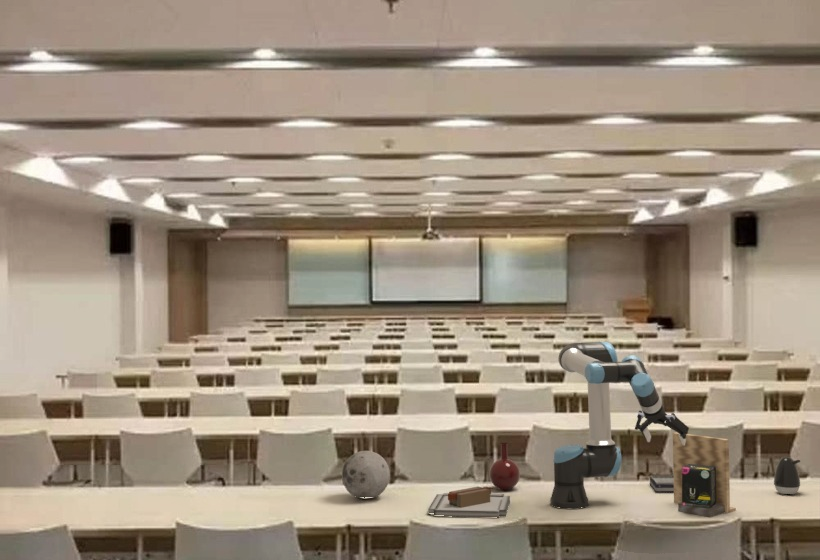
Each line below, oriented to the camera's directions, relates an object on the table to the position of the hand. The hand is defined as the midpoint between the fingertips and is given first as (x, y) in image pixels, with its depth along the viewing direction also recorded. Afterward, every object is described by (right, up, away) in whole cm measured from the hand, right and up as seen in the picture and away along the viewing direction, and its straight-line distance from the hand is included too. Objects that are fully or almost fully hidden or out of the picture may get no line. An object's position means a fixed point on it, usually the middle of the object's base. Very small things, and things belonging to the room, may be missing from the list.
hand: (666, 440), depth 379 cm
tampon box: (+14, -26, +7) cm, 30 cm away
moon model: (-115, -31, +42) cm, 126 cm away
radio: (+19, -29, +50) cm, 61 cm away
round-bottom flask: (-56, -30, +54) cm, 83 cm away
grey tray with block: (-73, -31, +21) cm, 82 cm away
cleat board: (+15, -28, +13) cm, 35 cm away
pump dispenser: (+59, -28, +36) cm, 74 cm away
